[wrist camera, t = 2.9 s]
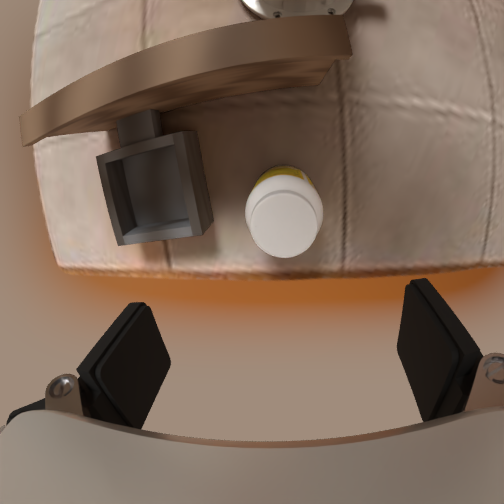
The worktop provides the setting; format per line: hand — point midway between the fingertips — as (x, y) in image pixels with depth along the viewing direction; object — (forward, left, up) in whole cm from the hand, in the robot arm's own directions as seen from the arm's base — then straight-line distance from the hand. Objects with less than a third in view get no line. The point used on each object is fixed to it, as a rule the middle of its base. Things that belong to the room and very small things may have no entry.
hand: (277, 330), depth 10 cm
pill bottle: (0, 0, -22) cm, 22 cm away
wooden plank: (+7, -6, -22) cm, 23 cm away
